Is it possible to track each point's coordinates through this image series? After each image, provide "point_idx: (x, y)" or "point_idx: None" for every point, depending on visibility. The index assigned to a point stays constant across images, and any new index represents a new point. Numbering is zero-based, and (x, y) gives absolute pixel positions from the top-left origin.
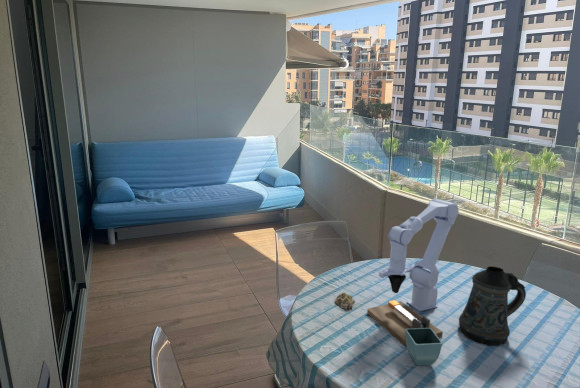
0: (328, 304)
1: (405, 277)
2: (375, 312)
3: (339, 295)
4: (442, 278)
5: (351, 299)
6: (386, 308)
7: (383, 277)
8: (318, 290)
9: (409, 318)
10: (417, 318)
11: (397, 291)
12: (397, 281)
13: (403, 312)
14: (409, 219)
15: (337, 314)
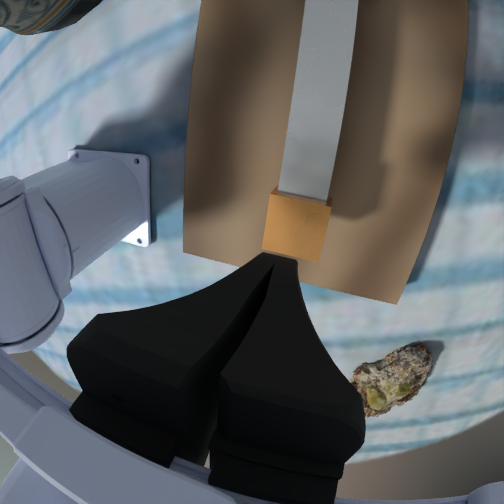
0: (437, 394)
1: (91, 330)
2: (397, 258)
3: (380, 412)
4: None
5: (366, 382)
6: None
7: (500, 488)
8: (378, 443)
9: (354, 24)
10: (230, 73)
11: (271, 259)
12: (288, 356)
13: (333, 99)
14: None
15: (479, 343)
